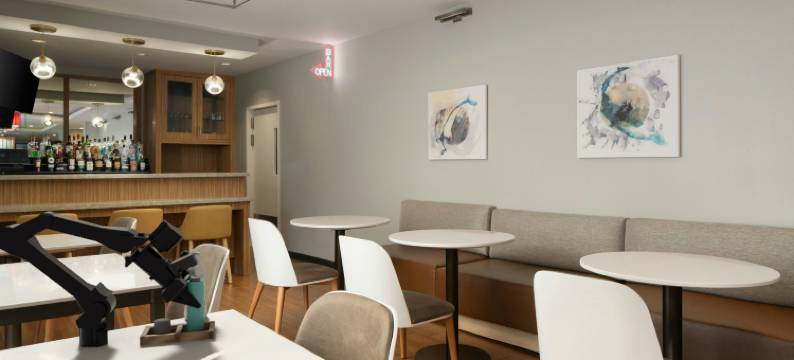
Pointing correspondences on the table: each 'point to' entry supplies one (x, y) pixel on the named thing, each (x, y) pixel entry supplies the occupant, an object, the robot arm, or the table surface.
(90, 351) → the table surface
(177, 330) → the tray
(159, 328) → the dark gray rounded cylinder
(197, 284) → the teal rounded cylinder
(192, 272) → the plastic bottle
